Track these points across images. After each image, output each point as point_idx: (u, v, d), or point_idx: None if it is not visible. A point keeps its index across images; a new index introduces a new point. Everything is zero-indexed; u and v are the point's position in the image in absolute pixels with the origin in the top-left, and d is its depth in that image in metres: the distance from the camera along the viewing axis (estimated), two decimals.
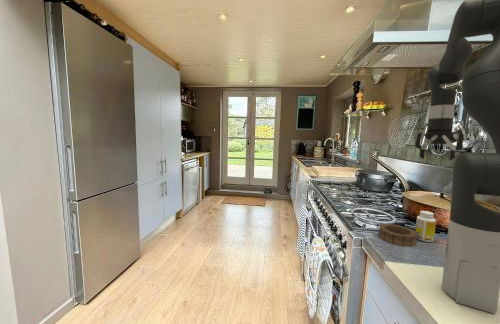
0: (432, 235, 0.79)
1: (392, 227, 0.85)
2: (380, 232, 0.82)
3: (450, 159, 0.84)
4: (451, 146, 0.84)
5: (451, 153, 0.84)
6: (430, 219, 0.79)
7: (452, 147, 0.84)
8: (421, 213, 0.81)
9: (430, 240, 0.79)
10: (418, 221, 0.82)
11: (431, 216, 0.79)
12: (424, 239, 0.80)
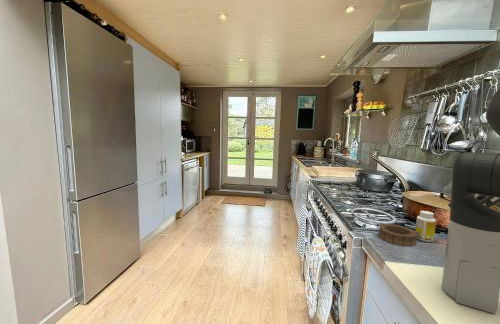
0: (432, 235, 0.79)
1: (392, 227, 0.85)
2: (380, 232, 0.82)
3: None
4: None
5: None
6: (430, 219, 0.79)
7: None
8: (421, 213, 0.81)
9: (430, 240, 0.79)
10: (418, 221, 0.82)
11: (431, 216, 0.79)
12: (424, 239, 0.80)
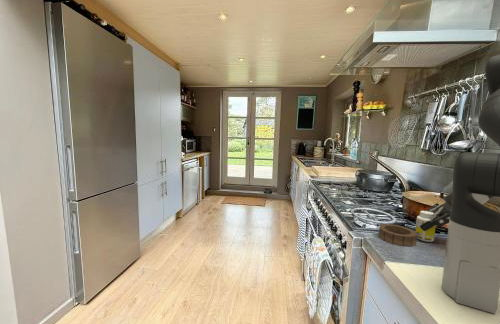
0: (432, 235, 0.79)
1: (392, 227, 0.85)
2: (380, 232, 0.82)
3: (420, 225, 0.80)
4: (433, 217, 0.78)
5: (426, 222, 0.79)
6: None
7: (432, 218, 0.78)
8: (421, 213, 0.81)
9: (430, 240, 0.79)
10: (418, 221, 0.82)
11: (431, 216, 0.79)
12: (424, 239, 0.80)
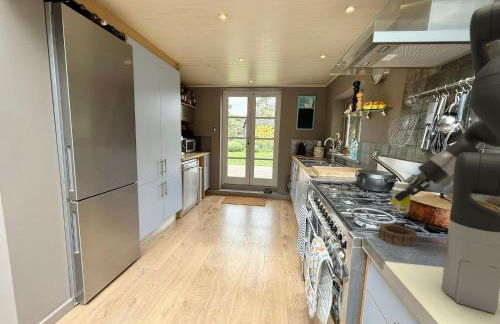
0: (407, 205, 0.77)
1: (392, 227, 0.85)
2: (380, 232, 0.82)
3: None
4: (408, 186, 0.76)
5: (400, 192, 0.77)
6: None
7: None
8: (396, 183, 0.80)
9: (405, 210, 0.78)
10: (393, 192, 0.80)
11: (406, 186, 0.78)
12: (399, 210, 0.78)
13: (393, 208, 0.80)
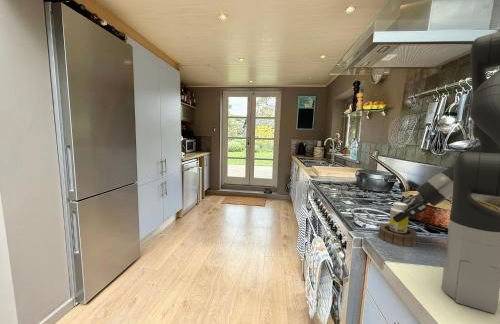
0: (405, 226, 0.78)
1: None
2: (380, 232, 0.82)
3: (393, 217, 0.79)
4: (405, 208, 0.77)
5: (398, 213, 0.78)
6: None
7: (404, 209, 0.77)
8: (394, 204, 0.80)
9: (403, 231, 0.78)
10: (391, 212, 0.81)
11: (404, 207, 0.78)
12: (397, 230, 0.79)
13: (391, 228, 0.81)
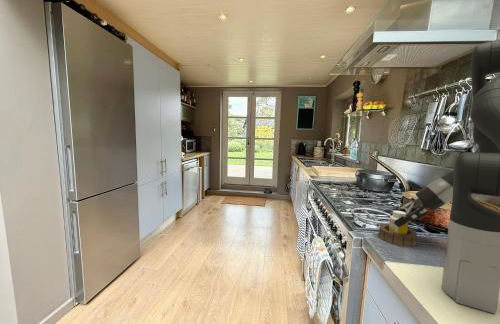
0: None
1: None
2: (380, 232, 0.82)
3: (394, 221, 0.78)
4: (406, 212, 0.76)
5: (400, 217, 0.77)
6: None
7: (406, 213, 0.76)
8: (394, 213, 0.81)
9: None
10: (391, 221, 0.81)
11: (403, 216, 0.79)
12: None
13: None
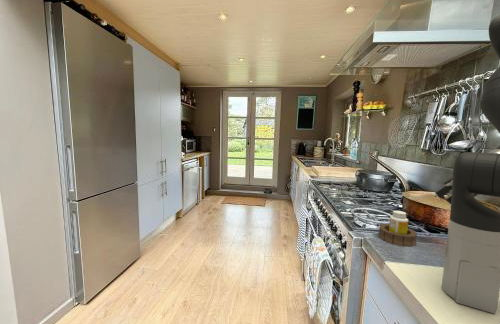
0: None
1: None
2: (380, 232, 0.82)
3: None
4: None
5: None
6: (402, 219, 0.79)
7: None
8: (394, 213, 0.81)
9: None
10: (391, 221, 0.81)
11: (403, 216, 0.79)
12: None
13: None
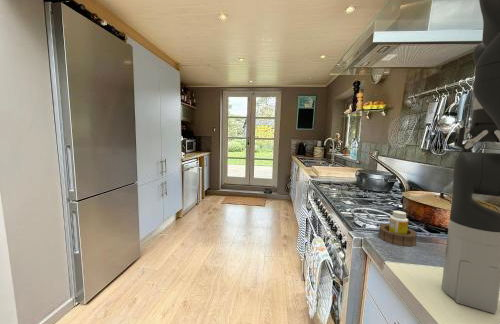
0: None
1: None
2: (380, 232, 0.82)
3: None
4: None
5: None
6: (402, 219, 0.79)
7: None
8: (394, 213, 0.81)
9: None
10: (391, 221, 0.81)
11: (403, 216, 0.79)
12: None
13: None
